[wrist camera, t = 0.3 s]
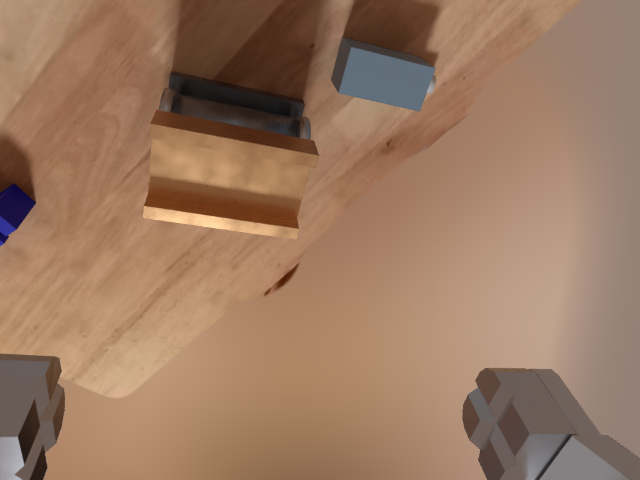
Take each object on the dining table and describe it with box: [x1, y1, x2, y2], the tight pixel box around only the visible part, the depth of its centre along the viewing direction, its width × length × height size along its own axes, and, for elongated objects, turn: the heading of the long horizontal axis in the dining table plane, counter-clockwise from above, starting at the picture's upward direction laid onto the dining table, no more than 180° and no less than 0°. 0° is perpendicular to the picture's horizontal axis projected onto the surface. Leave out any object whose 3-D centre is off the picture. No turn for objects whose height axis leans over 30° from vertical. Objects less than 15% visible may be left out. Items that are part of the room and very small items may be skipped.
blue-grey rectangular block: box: [331, 37, 436, 111], centre depth 50 cm, size 4×11×5 cm, turn 75°
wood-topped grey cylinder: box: [143, 72, 319, 239], centre depth 48 cm, size 10×14×14 cm
